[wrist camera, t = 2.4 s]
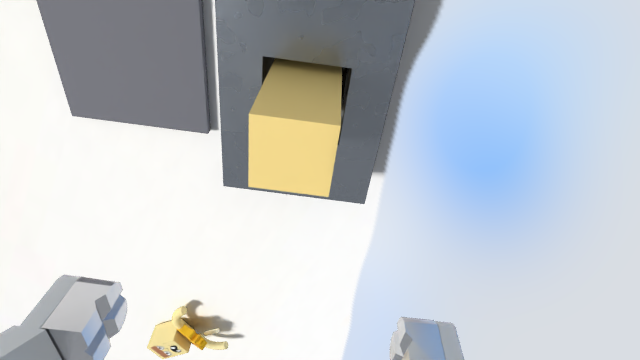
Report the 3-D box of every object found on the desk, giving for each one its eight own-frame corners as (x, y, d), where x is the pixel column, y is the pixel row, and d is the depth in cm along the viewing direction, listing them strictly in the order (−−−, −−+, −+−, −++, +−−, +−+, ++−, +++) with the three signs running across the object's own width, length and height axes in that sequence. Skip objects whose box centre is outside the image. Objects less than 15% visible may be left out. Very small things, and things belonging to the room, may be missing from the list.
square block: (281, 44, 24) (248, 113, 16) (342, 53, 24) (340, 125, 16) (278, 101, 26) (248, 186, 18) (333, 109, 26) (328, 197, 18)
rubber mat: (31, -42, 22) (23, -41, 21) (200, -18, 22) (197, -16, 22) (77, 112, 28) (72, 115, 27) (210, 129, 28) (208, 133, 27)
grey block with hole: (233, -52, 21) (212, -45, 18) (407, -27, 21) (418, -16, 18) (237, 155, 29) (223, 185, 26) (362, 171, 29) (364, 203, 26)
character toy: (228, 361, 42) (173, 371, 44) (235, 334, 45) (182, 346, 47) (186, 322, 38) (127, 336, 40) (196, 295, 40) (141, 310, 43)
